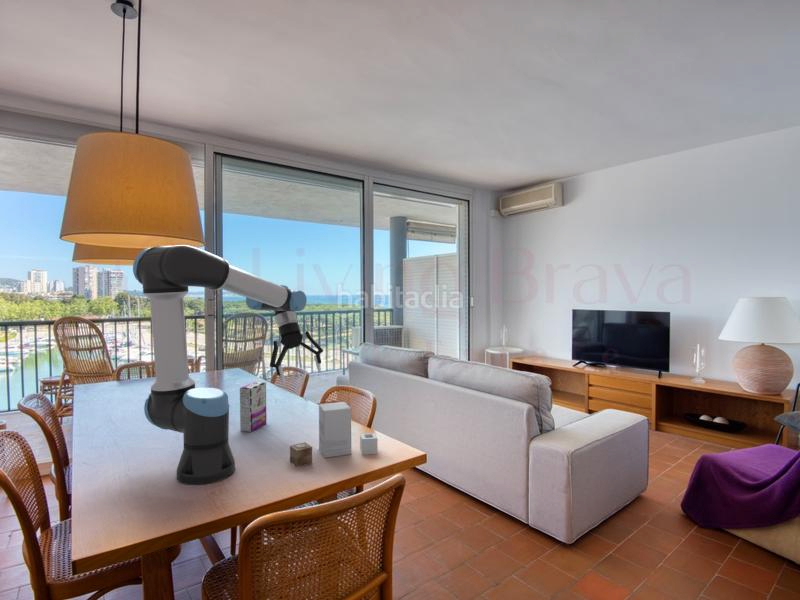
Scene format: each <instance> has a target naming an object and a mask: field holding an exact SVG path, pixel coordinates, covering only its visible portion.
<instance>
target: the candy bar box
mask: <svg viewBox="0 0 800 600" xmlns="http://www.w3.org/2000/svg"><path fill="white" fill-rule="evenodd" d="M239 412H240V413H239V415H240V416H239V417H240V423H239V425H240V427H239V428H240V429H239V430H240V432H243V431H247V432H246V433H253V432H254V431H256V430H257V429H259V428H261V427H262V426H264V425H266V424H267V382H266V381H254V382H251V383H249V384H246V385H244V386H241V387H240V388H239Z"/></svg>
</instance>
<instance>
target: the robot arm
mask: <svg viewBox="0 0 800 600" xmlns="http://www.w3.org/2000/svg"><path fill="white" fill-rule="evenodd" d="M132 264H133V265H132V272H133V275H134V278H135V279H136V280H137V281H138V283H139V284H140V285H142V294H143V295H144V296H145V297H147V298H148V299H149V304H150V307H149V308H150V316H151V320H150V321H151V330H152V341H153V343H152V345H153V352H154V353H153V354H154V355H153V357H154V370H155V371H154V372H155V382H153V384H152V385H151V386H150V393H149V394H148V397H147V398H146V399H145V401H144V405H143V406H144V407H143V410H144V411H143V412H144V415H145V417H146V420H147V421H148V422H149V423H150V424H152V425H153V426H155V427H157V428H160V429H162V430H169V431H173V432H178V433H181V434H183V450H182V452H181V456H180V459H179V462H178V464H177V468H176V481H177V482H179V483H182V484H185V485H193V486H194V485H205V484H211V483H215V482H219V481H221V480H224V479H226V478H228V477H229V476H231V475H232V474H234V472H235V471H236V461H235V458H234V455H233V453H232V452H233V451H232V449H231V447H230V444H229V435H230V434H229V433H230V432H229V428H230V427H229V423H230V422H229V421H230V417H229V416H230V415H229V414H230V404H229V396H228V394H227V393H226V392H225V391H224V390H222V389H221V388H220V389H219V388H216V387H196V381H195V379H193V378H192V377H190V374H189V360H188V348H187V347H188V346H187V335H186V334H187V332H186V317H185V306H184V305H185V304H184V303H185V302H184V299H185V297H186V295H187V294H188V293H189V287H199V288H206V289H209V290H213V291H216V290H219V289H221V290H223V291H226V292H230V293H233V294H236V295H238V296H241V297H245V304H246V307H247V308H248V309H250V310H252V311H270V312H271V311H273V313H274V316H275V320H276V323H277V326H278V331H279V335H280V340H274V341H273V342H272V343H273V350H272V354H271V358H270V363H269V367H270V368H275V370H276V375H277V376H278V377H280V378H281V382H282V385H287V382H286V381H287V380H286V377H285V373H284V370H283V366H281V364H282V363H283V360H284V359H285V356H286V353H287V352H288V350H292V349H294V348H299V347H300V346H302V347H303V348H305V349H306V350H307V351H309V352H310V353H313V354H314V356H313V358H314V359H313V360H314V361H315V366H316V369H317V373H318V374H321V373H322V370H321V367H320V364H322V360H321V354H322V353H323V352H324V349H323V347H321V346H320V345H319V344H318V343H317V342H316V340H315V339H314V338H312V336H311V333H310V332H309V331H308V330H307V331H305V332H304V333H301V329H300V328H301V327H300V325H299V322H298V318H297V317H298V316H297V314H296V312H301V311H303V310H304V309H305V308H306V307H307V302H308V300H307V295H306V293H305V292H304V291H302V290H301V289H300V290H298V289H290V288H289V286H287V285H286V284H280V285H279V284H277V283H274V282H273V281H269V280H267V279H265V278H262V277H260V276H257V275H256V274H253V273H251V272H247V271H245V270H243V269H240V268H238V267H236V266H233V265H230V263H229V261H228V260H227V259H225V258H223V257H220V256H218V255H216V254H213V253H212V252H208V251H206V250H204V249H200V248H198V247H195V246H191V245H186V244H178V245H157V246H152V247H149V248H145V249H143V250H141V251H140V253H139V254H137V256H136V257H135V258H134V260H133V263H132ZM304 338H305V339H308V340H309V342H310V343H311V344H312V345H314V347H315V348H316V349H314V348H313V347H311V346H309V345H307V344H306V343H305V342H303V339H304ZM281 345H283V346H282V350H281V352H280V354H279V356H278V352H279V347H281ZM277 357H278V358H277Z"/></svg>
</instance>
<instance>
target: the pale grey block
mask: <svg viewBox="0 0 800 600" xmlns="http://www.w3.org/2000/svg"><path fill="white" fill-rule="evenodd" d="M359 450H360V453H361V455H375V454H378V436H377V434H376V433H375V432H372V433H360V435H359Z"/></svg>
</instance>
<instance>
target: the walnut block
mask: <svg viewBox="0 0 800 600" xmlns="http://www.w3.org/2000/svg"><path fill="white" fill-rule="evenodd" d="M289 462H290V463H291V464H292V463H293V464H294V465H293V464H292V465H293V466H295V468H299V467H303V466H306V464H307V465H310V463H311V464H313V446H311V445H310V444H308V443H307V442H300V443H296V444H292V445H291V444H290V445H289ZM298 466H299V467H298Z"/></svg>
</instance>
